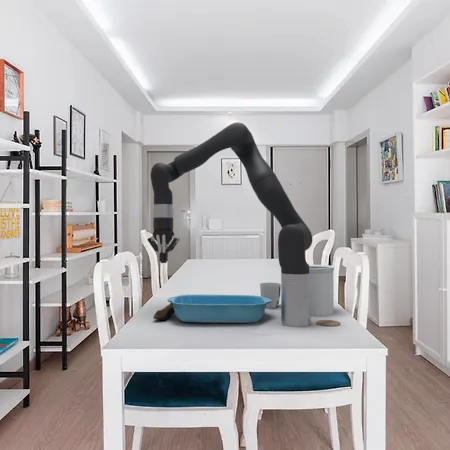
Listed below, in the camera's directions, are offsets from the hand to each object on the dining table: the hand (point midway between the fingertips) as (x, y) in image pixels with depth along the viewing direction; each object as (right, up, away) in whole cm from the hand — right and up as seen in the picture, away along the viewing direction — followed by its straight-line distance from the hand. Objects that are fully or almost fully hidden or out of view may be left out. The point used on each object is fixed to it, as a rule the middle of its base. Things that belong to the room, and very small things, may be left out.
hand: (163, 262), depth 158 cm
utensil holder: (+56, -19, -2) cm, 59 cm away
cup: (+41, -19, +6) cm, 45 cm away
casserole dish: (+21, -19, -9) cm, 30 cm away
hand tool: (-2, -18, +1) cm, 18 cm away
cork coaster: (+57, -18, -19) cm, 63 cm away
